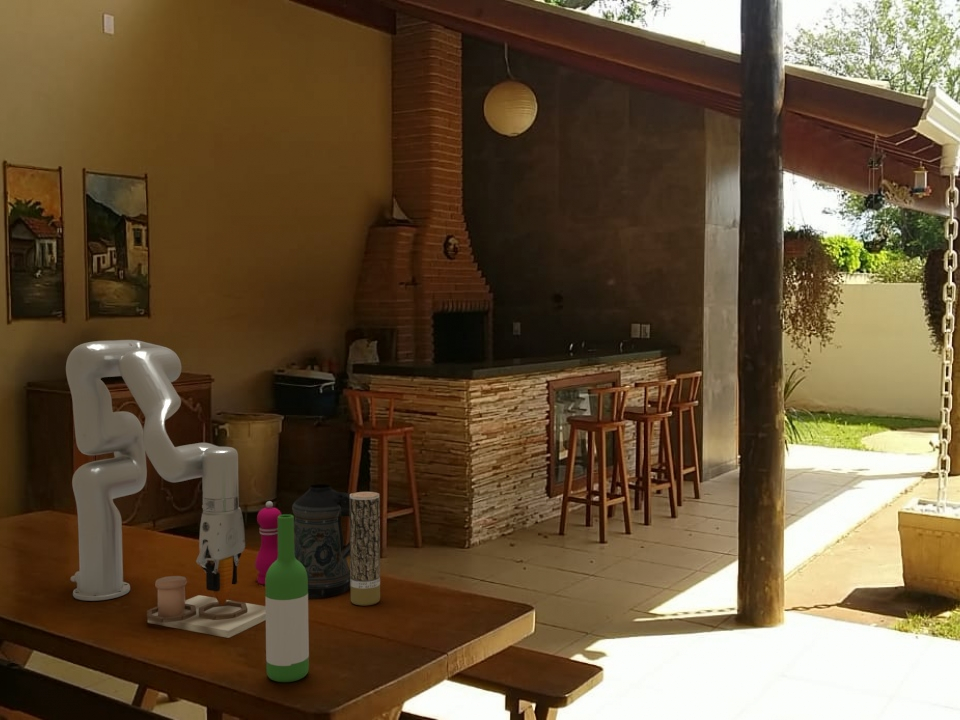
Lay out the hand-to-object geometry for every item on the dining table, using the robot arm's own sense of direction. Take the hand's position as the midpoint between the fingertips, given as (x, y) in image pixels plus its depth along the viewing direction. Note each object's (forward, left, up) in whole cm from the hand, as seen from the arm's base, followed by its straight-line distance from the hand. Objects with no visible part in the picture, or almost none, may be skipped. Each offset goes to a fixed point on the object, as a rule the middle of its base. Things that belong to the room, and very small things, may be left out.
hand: (221, 585), depth 208 cm
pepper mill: (-8, +27, -7) cm, 29 cm away
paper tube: (+22, +23, -7) cm, 33 cm away
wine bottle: (+32, -20, -7) cm, 39 cm away
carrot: (0, 0, -5) cm, 5 cm away
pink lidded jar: (-9, -6, -6) cm, 12 cm away
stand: (-2, -2, -7) cm, 8 cm away
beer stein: (+7, +28, -7) cm, 30 cm away
